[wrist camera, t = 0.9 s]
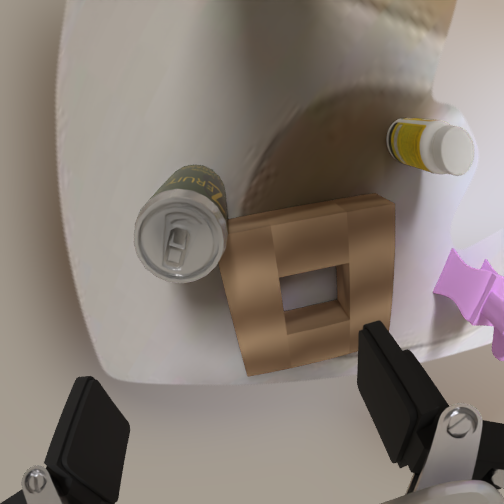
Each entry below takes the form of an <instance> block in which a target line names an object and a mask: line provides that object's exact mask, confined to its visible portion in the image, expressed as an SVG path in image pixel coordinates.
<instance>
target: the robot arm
mask: <svg viewBox="0 0 504 504" xmlns="http://www.w3.org/2000/svg"><path fill="white" fill-rule="evenodd" d="M357 385H358V388H359V391H360V394H361V396H362V398H363V400H364V402H365V404H366V406H367V408H368V411H369V412H370V415H371V417H372V419H373V422H374V424H375V426H376V428H377V430H378V433H379V435H380V437H381V439H382V441H383V444H384V446H385V448H386V451H387V453H388V455H389V457H390V460H391V461H392V463H396V462H397V463H398V465H399V467H400V468H402V467H404V466H407V465H408V466H409V468H410V470H411V472H413V476H412V478H411V481H410V484H409V486H408V489H407V491H406V493H405V495H404V496H401V497H398V498H396V499H393V500H390V501H387V502H384V503H381V504H504V498H503V496H502V495H501V494H500V492H499V491H498V490H497V489H501V488H503V489H504V424H502V423H496V422H490V421H484V420H482V416H481V414H480V412H479V411H478V410H477V409H476V408H475V407H473V406H472V405H469V404H465V403H457V404H454V405H451V406H449V405H448V404H447V402H446V401H445V399H444V398H443V396H442V395H441V393H440V392H439V390H438V389H437V387H436V386H435V385H434V383H433V381H432V380H431V378H430V377H429V376H428V374H427V373H426V371H425V370H424V368H423V367H422V366H421V364H420V363H419V361H418V360H417V359H416V357H415V356H414V354H413V353H412V352H411V351H410V350H404V351H402V350H401V348H400V347H399V345H398V344H397V343H396V341H395V340H394V338H393V337H392V335H391V334H390V333H389V331H388V330H387V329H386V327H385V326H384V324H383V323H382V322H381V321H380V320H378V321H374V322H371V323H368V324H365V325H363V330H360V331H359V333H358V373H357ZM129 433H130V425H129V423H128V421H127V420H126V419H125V417H124V416H123V415H122V413H121V412H120V411H119V409H118V408H117V407H116V405H115V404H114V403H113V401H112V400H111V399H110V397H109V396H108V394H107V393H106V391H105V390H104V389H103V387H102V386H101V384H100V383H99V382H98V380H95V379H94V378H93V377H91V376H86V377H78V378H77V379H76V380H75V383H74V385H73V387H72V390H71V392H70V394H69V397H68V399H67V402H66V404H65V407H64V409H63V412H62V414H61V417H60V419H59V423H58V425H57V427H56V430H55V433H54V435H53V438H52V441H51V444H50V447H49V450H48V452H47V456H46V458H45V462H44V463H45V464H46V465H47V467H46V469H45V468H44V467H42V466H33V467H30V468H29V469H28V470H27V471H26V472H25V473H24V475H23V478H22V490H20V491H19V492H17V493H16V494H14V495H13V496H11V497H10V498H8V499H6V500H5V501H3V502H2V503H0V504H115V502H117V500H118V496H119V490H120V484H121V477H122V471H123V465H124V460H125V454H126V449H127V443H128V438H129Z"/></svg>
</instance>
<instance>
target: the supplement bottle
mask: <svg viewBox="0 0 504 504" xmlns="http://www.w3.org/2000/svg"><path fill="white" fill-rule="evenodd" d="M387 147H388V150H389V152H390V154H391V155H392V157H393V158H394V159H395V160H397V161H398V162H400V163H403V164H406V165H409V166H413V167H416V168H419V169H422V170H425V171H428V172H431V173H435V174H451V175H456V176H459V175H463V174H465V173H466V172H467V171H468V170H469V168H470V167H471V165H472V162H473V158H474V145H473V141H472V139H471V137H470V135H469V134H468V132H467V131H466V130H464V129H463V128H461V127H457V126H452V125H450V124H449V123H447V122H445V121H441V120H432V119H419V118H400V119H398V120H396V121H395V122H394V123H393V124H392V125H391V126H390V128H389V130H388V132H387Z"/></svg>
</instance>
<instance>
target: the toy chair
mask: <svg viewBox="0 0 504 504" xmlns="http://www.w3.org/2000/svg"><path fill="white" fill-rule="evenodd" d="M433 293H436V294H441V295H444V296H447V297H449V298H450V299H452V300H453V301H454V302H455V303H456V305H457V306H458V308H459V310H460V312H461V314H462V316H463V317H464V318H465V319H466V320H467V321H469V322H470V323H471V324H472V325H486V326H494V334H493V342H492V352H493V355H494V356H495V357H496V358H497V359H498V360H500V361H504V277H503V276H500V275H499V274H498V273H497V272H496V271H495V270H494V269H493V268H492V266H491V265H490V264H489V262H488V261H487V259H485V260H484V263H483V265H482V267H481V269H475V268H472V267H470V266H468V265H467V264H466V263H465V262H464V261H463V260H462V259H461V258H460V256H459V255H458V254H457V252H456V251H455V249H453V248H452V249H451V252H450V254H449V257H448V259H447V261H446V264H445V266H444V268H443V271H442V273H441V275H440V277H439V280H438V282H437V284H436V286H435V288H434V290H433Z"/></svg>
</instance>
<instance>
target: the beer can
mask: <svg viewBox="0 0 504 504" xmlns="http://www.w3.org/2000/svg"><path fill="white" fill-rule="evenodd" d="M227 238H228V228H227V211H226V194H225V188H224V184H223V182H222V180H221V178H220V177H219V176H218V175H217V174H216V173H215V172H214V171H213V170H212V169H209V168H207V167H205V166H201V165H189V166H184V167H182V168H181V169H179V170H177V171H176V172H175V173H174V174H173V175H172V176H171V177H170V178H169V179H168V180H167V181H166V182H165V183H164V184H163V185H162V186H161V187H160V188H159V189H158V191H157V192H156V193H155V194H154V195H153V196H152V197H151V198H150V199H149V200H148V202H147V203H146V204H145V205H144V206H143V208H142V209H141V210H140V212H139V214H138V217H137V220H136V222H135V230H134V246H135V250H136V253H137V256H138V258H139V259H140V261H141V262H142V264H143V265H144V267H145V268H146V269H147V270H148V271H150V272H151V273H152V274H153V275H155V276H156V277H158V278H160V279H163V280H165V281H168V282H174V283H187V282H193V281H196V280H198V279H200V278H202V277H204V276H206V275H208V274H209V273H210V272H211V271H212V270H213V269H214V268H215V267H216V265H217V263H218V262H219V261H220V259H221V257H222V255H223V253H224V251H225V249H226V244H227Z"/></svg>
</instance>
